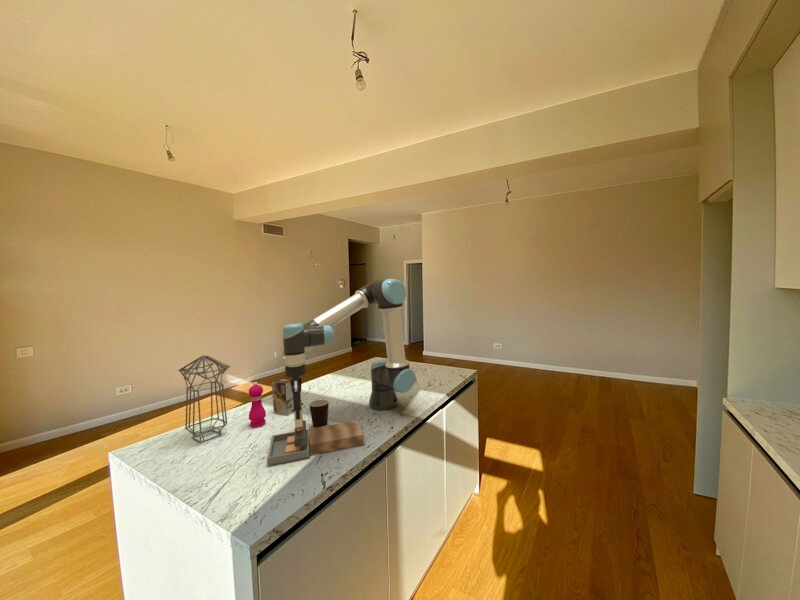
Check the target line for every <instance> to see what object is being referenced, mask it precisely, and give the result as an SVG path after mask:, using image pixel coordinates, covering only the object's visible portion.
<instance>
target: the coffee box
mask: <svg viewBox="0 0 800 600" xmlns="http://www.w3.org/2000/svg"><path fill="white" fill-rule="evenodd" d="M271 389H272V406H273V414H274V413H275V414H276V415H284V416H289V415H291V414H292V413H293V414H294V411H293V412H292V409H294V403H293V393H292V386H291V379H287V378H279V379H276V380H274V381H272V382H271Z"/></svg>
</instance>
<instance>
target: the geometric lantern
mask: <svg viewBox="0 0 800 600" xmlns="http://www.w3.org/2000/svg"><path fill="white" fill-rule="evenodd" d="M206 363H207V364H206ZM201 365H202V366H201ZM213 365H216V368H217V369H213ZM206 367H208V368H206ZM229 368H231V366H230V365H229V364H226V363H225V362H222V361H220V360H218V359H215V358H213V357H211V356H209V355H201V356H199V357H198V358H196V359H194V360H192V361H191V362H189V363H188V364H186V365H184V366H182V367H181V368H179V369H178V370H177V372H180V374H181V375H182V377H183V380H185V385H186V400H185V401H186V403H185V405H186V406H185V426H184V427H185V428H184V429H185V430H186V431H188V433H190V434H192V439H193V440H194V441H196V442H198V443H201V444H202V443H205V442H207V441H209V440H211V439H214V438H217V437H219V436H221V433H222V430H223V428H225V427H226V425H228V419H227V418H228V417H227V410H226V408H227V407H226V401H225V399H226V398H225V389H224V384H223V383H222V382H223V381H222V380H223V379H222V378H223V377H222V376H223V374H225V372H226V371H227V370H229ZM199 369H202V371H198V370H199ZM209 369H210V370H209ZM194 371H195V372H194ZM217 371H218V372H217ZM215 372H217V373H216V374H215ZM208 373H212V374H213V375H212V376H210V377H209V376H208V375H207V374H208ZM187 375H188V376H187ZM191 375H193V378H192V380H190V377H191ZM196 376H199V377H201V378H203V379H204V380H203V381H202V382H201V383H200V384H195V385H193V383H194V381H195V378H196ZM216 376H217V377H216ZM219 377H220V382H219V381H218V379H219ZM211 379H215V380H214V381H212V380H211ZM206 380H208V381H209V382H205V381H206ZM187 382H188V383H189V384H188V383H187ZM206 384H210V388H209V387H208V388H204V389H200V388H201V386H202V385H206ZM213 384H214V386H213ZM188 385H189V386H188ZM194 387H198V388H197V389H195V388H194ZM217 388H219V397H220V398H219V399H220V408H221V415H222V416H221V417H222V419H221V418H220V415H219V402H218V393H217ZM199 389H200V390H199ZM213 389H214V391H215V402H216V404H215V405H216V413H217V414H216V415H217V418H216V417H215V418H213V415H214V414H213V411H214V409H213V405H214V404H213ZM207 390H210V410H211V411H210V413H211V414H210V419H206V420H204V421H203V420H202V419H201V406H200V405H201V402H200V392H202V391H207ZM192 392H193V393H192ZM192 394H193V395H192ZM196 394H197V404H198V405H197V406H198V409H197V410H198V421H199V422H196V423H195V417H196V415H195V413H196V412H195V411H196V410H195V409H196V406H195V405H196ZM192 397H193V398H192ZM192 402H193V404H192ZM188 404H189V406H188ZM191 406H192V407H191ZM191 410H192V424H191ZM201 420H202V421H201ZM215 420H216V421H215ZM213 421H215V422H214V423H213V425H212V422H213ZM218 421H221V422H222V424H223V425H219V426H217V427H216V426H215V425H216V424H217V422H218ZM206 422H210V425H209V426H208V427H204V428H202V424H203V423H206ZM197 425H199V426H198V427H199V430H196V431H195V426H197ZM191 427H192V428H191ZM215 433H216V434H218V435H215V436H213V437H210V438H207V439H205V437H208V436H210V435H212V434H215ZM204 434H205V435H204ZM197 437H198V438H199V440H198V439H196V438H197Z"/></svg>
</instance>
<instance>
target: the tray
mask: <svg viewBox="0 0 800 600" xmlns="http://www.w3.org/2000/svg"><path fill="white" fill-rule="evenodd" d="M290 436H295V431H291V432H284V433H279V434H273V435H272V436H271V440H270V445H269V448H268V453H267V457H266V462H267V467H274V466H279V465H283V464H288V463H289V464H290V463H293V462H294V463H295V462H299V461H303V460H309V459H310V456H311V455H310V438H309V429H307V428H306V445H301V446H300V451H297V452H292V453H287V454H286V446H287V438H288V437H290Z"/></svg>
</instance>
